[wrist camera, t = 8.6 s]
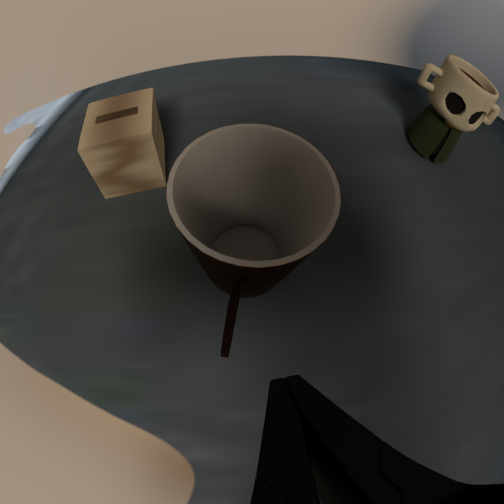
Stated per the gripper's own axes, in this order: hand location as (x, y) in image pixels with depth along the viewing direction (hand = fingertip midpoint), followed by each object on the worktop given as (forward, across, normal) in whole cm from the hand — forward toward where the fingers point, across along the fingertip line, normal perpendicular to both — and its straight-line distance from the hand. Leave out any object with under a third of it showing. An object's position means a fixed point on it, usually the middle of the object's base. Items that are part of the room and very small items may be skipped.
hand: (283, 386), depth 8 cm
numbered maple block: (+23, +8, -5) cm, 25 cm away
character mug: (+24, -26, -6) cm, 36 cm away
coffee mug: (+15, 0, +4) cm, 15 cm away
